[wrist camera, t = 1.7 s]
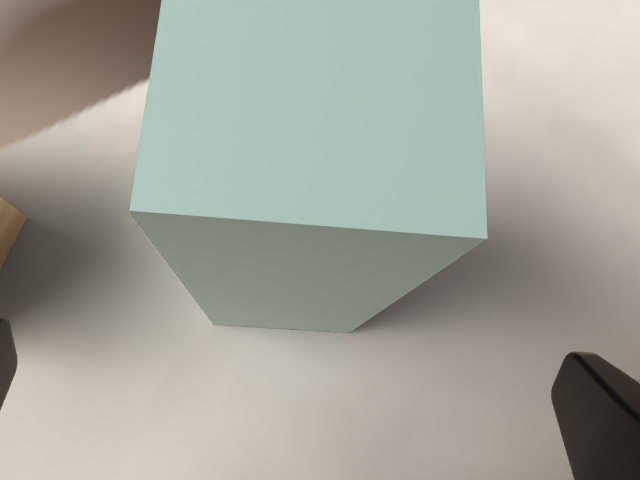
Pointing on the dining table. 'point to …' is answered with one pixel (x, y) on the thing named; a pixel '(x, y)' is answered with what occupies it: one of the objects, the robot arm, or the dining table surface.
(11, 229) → the oak block
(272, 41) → the teal block
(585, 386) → the robot arm
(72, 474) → the dining table surface
